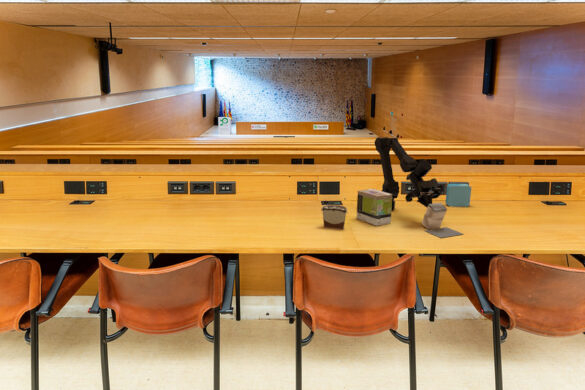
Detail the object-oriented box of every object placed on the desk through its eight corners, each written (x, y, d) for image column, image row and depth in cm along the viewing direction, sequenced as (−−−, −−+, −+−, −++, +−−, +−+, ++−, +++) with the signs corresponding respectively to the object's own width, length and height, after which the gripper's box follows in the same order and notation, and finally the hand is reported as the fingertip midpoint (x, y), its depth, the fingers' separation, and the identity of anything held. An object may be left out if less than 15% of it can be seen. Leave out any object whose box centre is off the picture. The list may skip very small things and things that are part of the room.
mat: (424, 231, 207) (424, 230, 207) (446, 227, 212) (446, 226, 212) (441, 238, 197) (441, 237, 197) (463, 234, 203) (463, 233, 202)
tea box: (391, 223, 218) (393, 193, 215) (375, 226, 213) (377, 196, 210) (371, 215, 231) (372, 187, 227) (355, 218, 226) (356, 189, 222)
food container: (349, 226, 214) (350, 205, 211) (346, 230, 208) (347, 209, 206) (324, 223, 218) (324, 203, 215) (320, 227, 212) (321, 206, 210)
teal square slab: (467, 204, 253) (469, 184, 250) (469, 207, 248) (471, 185, 245) (445, 204, 253) (447, 183, 250) (447, 206, 249) (449, 185, 246)
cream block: (421, 223, 213) (428, 204, 207) (433, 221, 216) (440, 202, 210) (427, 229, 209) (435, 210, 203) (439, 227, 212) (447, 208, 206)
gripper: (410, 174, 208) (424, 202, 201) (442, 171, 215) (457, 198, 208) (399, 187, 217) (412, 215, 209) (429, 184, 224) (443, 211, 217)
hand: (431, 209), depth 211 cm, fingers closed
